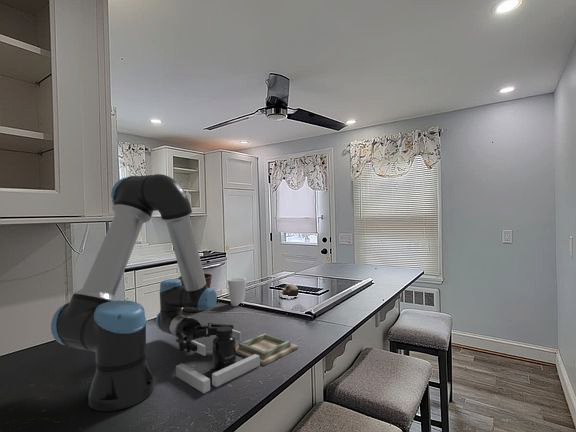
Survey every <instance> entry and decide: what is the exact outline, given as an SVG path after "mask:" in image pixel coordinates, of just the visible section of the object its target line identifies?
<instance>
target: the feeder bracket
mask: <svg viewBox="0 0 576 432" xmlns="http://www.w3.org/2000/svg"><path fill="white" fill-rule="evenodd" d="M260 366H261V365H260V356H259V355H256V354H254V355H252V356H250V357H248V358H246V357H244V358H243V359H241V360H238V361H236V363H234V364H232V365H230V366H228V367H226V368H223V369H221V370H219V371H217V372H215V371H214V372H213V373H211V378H209V377H207V376H206V375H204V374H202V373H200V372H198V371H196V370H195V369H193V368H191V367H190V366H187V365H186V364H184V363H180V364H178V365H175V377H177V378H179V379H180V380H181V381H183V382H185V383H186V384H188V385H189V386H191V387H193V388H194V389H196V390H198V391H199V392H201V393H202V394H206V393H208V392H210V391H211V385H212V386H214V387H215V388H218V387H220V386H222V385H224V384H225V383H227V382H229V381H231V380H234V379H236V378H238V377H240V376H242V375H244V374H246V373H248V372H250V371H252V370H254V369H256V368H258V367H260Z"/></svg>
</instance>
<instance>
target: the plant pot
mask: <svg viewBox="0 0 576 432" xmlns="http://www.w3.org/2000/svg"><path fill="white" fill-rule="evenodd" d="M204 276H205V280H206V283H207V287H208V288H211V283H212V278H213V275H212V274H211V273H205V272H204ZM177 279H179V280H181V284H182V286H184V284H183V280H182V277H181V275H180V276H178V277H177ZM182 310H183V312H186V313H193V312H196V313H200V312H203V311H205V310H198V309H191V308H182Z"/></svg>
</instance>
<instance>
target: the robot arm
mask: <svg viewBox="0 0 576 432" xmlns="http://www.w3.org/2000/svg"><path fill="white" fill-rule="evenodd" d="M110 197H111V198H112V199H111V201H112V211H113V212H114V216H113V219H112V221H111V222H110V225H109V227H108V229H107V232H106V234H105V237H104V238H103V241H102V242H101V245H100V248H99V250H98V252H97V254H96V257H95V259H94V261H93V263H92V266H91V268H90V270H89V272H88V274H87V277H86V279H85V282H84V284H83V287H82V288H80V289H79V290H77V291H75V292H74V293H72V296H71V299H69V302H67V303H64V304H63V305H62V306H60V307H58V308H57V309H56V311H55V312H54V314H53V316H52V319H51V322H50V331H51V334H52V336H53V338H54V340H55V341H56V342H57V343H59V344H61V345H63V346H65V347H67V348H70V349H79V350H84V351H88V352H93V353H95V372H94V376H93V378H92V382H91V385H90V388H89V390H88V391H89V392H88V395H87V397H88V399H87V400H88V406H89V408H91V409H92V410H95V411H98V412H115V411H120V410H123V409H124V410H125V409H127V408H130V407H134V406H135V405H137V404H140V403H141V402H143V401H144V400H146V399H147V398H149V397H150V396H151V394H152V393H153V391H154V388H155V381H154V376H153V374H152V372H151V368H150V366H149V364H148V361H147V330H146V329H147V319H146V314H145V308H144V306H143V305H142V304H140V303H138V302H136V301H133V300H117V299H116V293H117V291H118V288H119V285H120V284H121V283H120V282H121V280H122V278H123V275H124V272H125V270H126V267H127V265H128V262H129V260H130V258H131V255H132V252H133V250H134V247H135V245H136V243H137V240H138V237H139V235H140V233H141V230H142V228H143V225H144V224H145V223H147V222H150V220H151V218H152V216H153V212H154V211H155V212H156V211H158V212H159V214H160V217H161V220H162V221H164V222H166V223H165V224H166V227H167V230H168V233H169V238H170V240H171V244H172V248H173V251H174V254H175V259H176V262H177V266H178V268H179V273H180V276H181V277H182V280H183V284H184V286H182V284H181V280H179V279H178V278H170V279H164V280H162V281H161V282H160V284H159V305H160V306H159V307H160V308H159V309H160V311H159V312H158V314H157V315H156V318H155V322H154V323H155V325H156V327H157V329H158V330H160V331H162V332H163V333H167V334H170V335H172V336H174V337H175V342H176V343H177V344H178V348H179V352H181V353H183V352H184V351H185V350H186V353H187V354H188V353H191V352H194V353H197V354H199V355H202V356H206V355H207V345H205V344H203V343H200V342H198V341H196V340H198V339H202V338H209V337H211V336H216V329H217V328H219V327H223V326H228V327H231V328H232V336H233V337H234V338H235V340H236V341H238V342H243V341H242V331H239V330H236V329H234V325H233V324H225V323H214V322H207V325H204V324H201V322H200V321H199V320H197V319H196V318H193V317H190V316H187V315H184V314H183V313H182V312H183V311H182V310H183V308H191V309H198V310H204V311H210V310H212V309H213V308H214V307H215V306H216V303H217V298H218V295H217V292H216V291H215V289H214V288H211V287H210V288H208V287H207V283H206V280H205V276H204V273H205V271H204V269H203V264H202V260H201V257H200V256H201V255H200V252H199V248H198V244H197V240H196V235H195V232H194V228H193V225H192V224H193V223H192V220H191V215H192V214H193V210H192V206H191V202H190V200H189V198H188V195H187V194H186V191H184V189H183V188H182V186H181V185H180V184H179V182H177V180H175V179H173V178H172V177H170V176H168V175H166V174H162V173H155V174H149V175H148V174H147V175H146V174H145V175H130V176H126V177H123V178H120V179H119V180H118V181H117V182H115V184H114V185H113V187H112V188H111V193H110Z"/></svg>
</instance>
